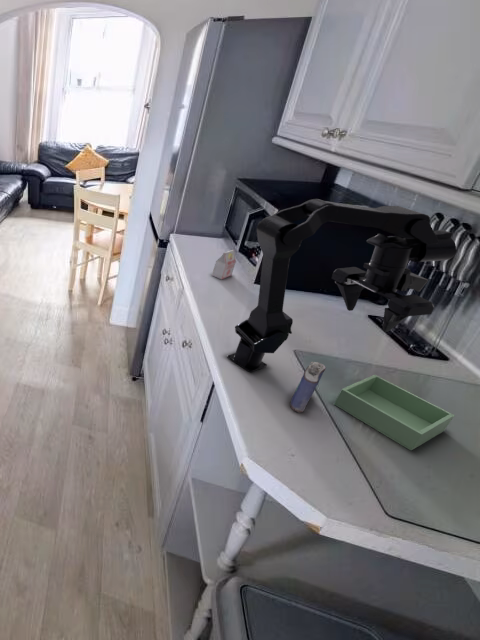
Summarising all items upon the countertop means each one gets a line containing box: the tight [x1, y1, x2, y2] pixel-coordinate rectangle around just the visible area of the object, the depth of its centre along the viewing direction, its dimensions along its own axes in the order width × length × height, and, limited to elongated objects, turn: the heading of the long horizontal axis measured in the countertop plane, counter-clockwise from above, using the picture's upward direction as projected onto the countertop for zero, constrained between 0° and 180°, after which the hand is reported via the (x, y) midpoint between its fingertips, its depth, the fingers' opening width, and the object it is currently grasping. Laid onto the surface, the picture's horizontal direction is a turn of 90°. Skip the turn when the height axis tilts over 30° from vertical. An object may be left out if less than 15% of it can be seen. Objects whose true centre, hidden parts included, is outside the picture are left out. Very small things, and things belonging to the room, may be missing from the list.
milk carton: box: [211, 249, 237, 280], centre depth 147 cm, size 4×7×10 cm, turn 120°
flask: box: [289, 361, 327, 414], centre depth 88 cm, size 9×3×11 cm, turn 129°
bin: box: [333, 374, 456, 451], centre depth 85 cm, size 13×13×4 cm
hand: (367, 320), depth 95 cm, fingers open, 9 cm apart
